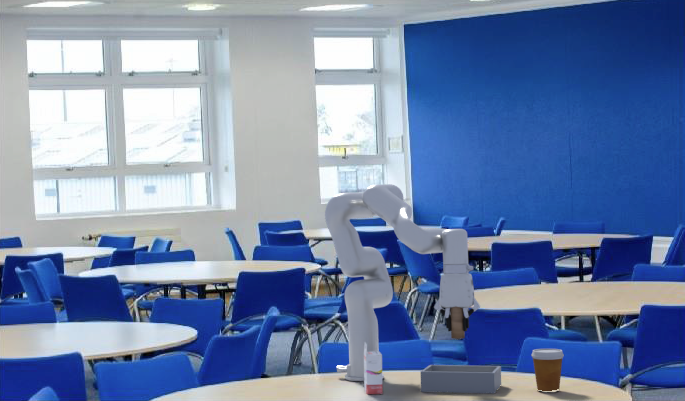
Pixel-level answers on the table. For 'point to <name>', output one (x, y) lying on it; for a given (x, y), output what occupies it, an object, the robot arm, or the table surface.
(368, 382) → the ink cartridge box
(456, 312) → the peg
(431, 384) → the box
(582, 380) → the table surface
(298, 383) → the table surface
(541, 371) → the disposable coffee cup
